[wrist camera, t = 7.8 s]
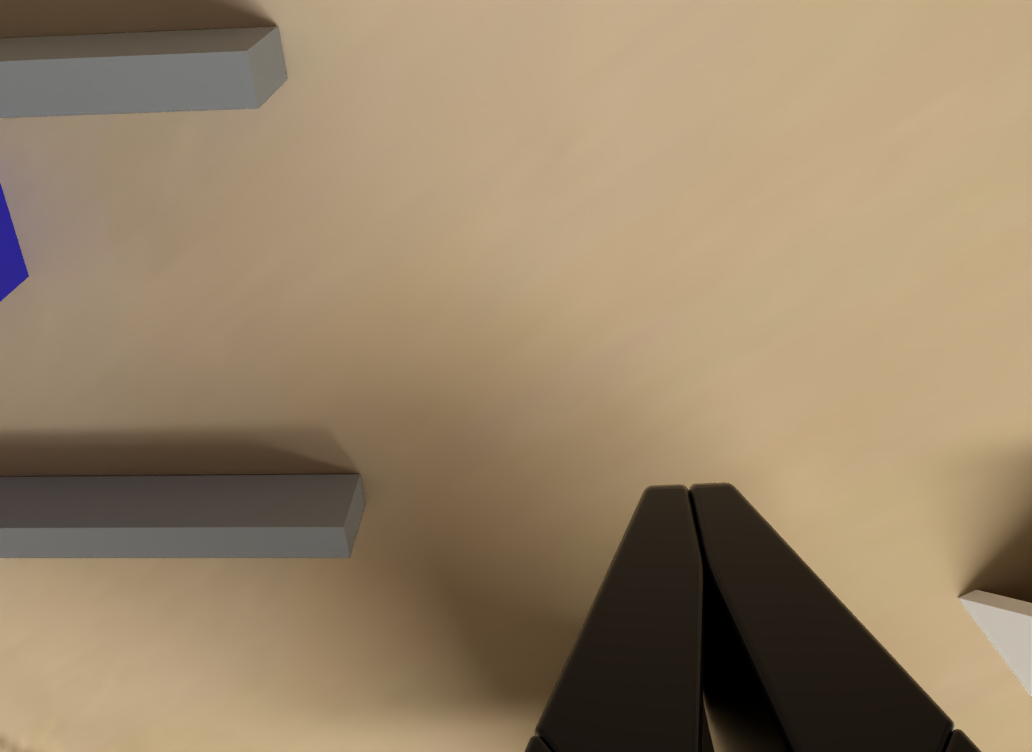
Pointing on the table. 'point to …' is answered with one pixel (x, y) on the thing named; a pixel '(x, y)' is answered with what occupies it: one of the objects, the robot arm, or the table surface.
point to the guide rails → (163, 499)
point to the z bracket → (1005, 629)
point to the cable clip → (9, 253)
